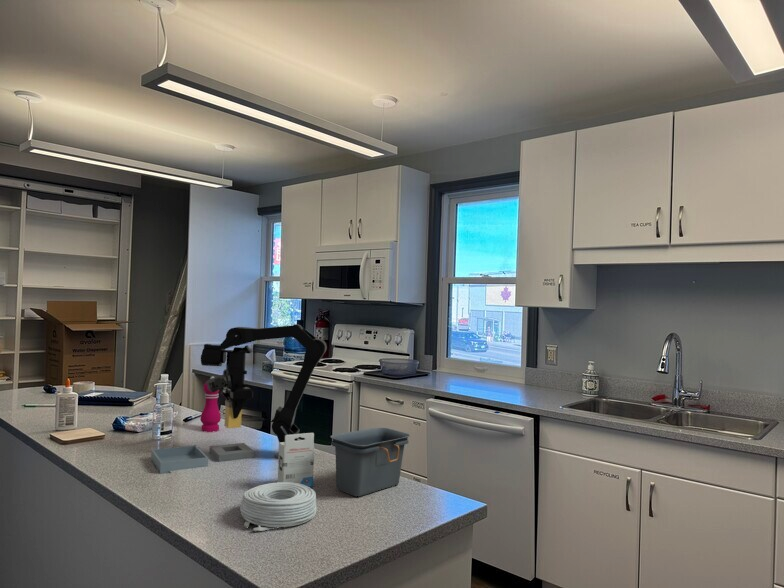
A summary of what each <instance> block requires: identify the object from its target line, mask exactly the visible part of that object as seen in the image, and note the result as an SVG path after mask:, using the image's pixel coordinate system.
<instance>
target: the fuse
mask: <svg viewBox="0 0 784 588" xmlns="http://www.w3.org/2000/svg"><path fill="white" fill-rule="evenodd" d="M224 403H225V404H224V407H225V408H224V409H225V410H224V412H225V413H224V427H225V428H226V429H235V428H236V429H237V428H241V427H242V415H243V414H242V413H243V409H242V410H241V412H240V414H239V415H238V417H237V418H233V410H232V401H231V400H226V399H225V401H224Z"/></svg>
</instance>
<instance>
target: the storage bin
mask: <svg viewBox="0 0 784 588" xmlns="http://www.w3.org/2000/svg"><path fill="white" fill-rule="evenodd" d="M329 437H330V438H331V439H332V441H331V443H330V445H331V446H332V447H334V449H335V450H334V451H335V475H336V476H335V484H336V485H335V486H336V487H335V488H336V489H337V490H338V491H341V492H343V493H346V494H348V495H352V496H354V497H357V496H358V497H362V496H366V495H368V494H371V493H374V492H378V490H379V491H382V490H386V489H389V488H392V487H391V486H393V487H396V486H398V485H399V483H400V476H401V471H402V470H401V469H402V465H403V457H404V450H405V445H407V444H409V439H408V438H409V437H411V434H409V433H407V432H404V431H399V430H395V429H392V428H388V427H373V428H367V429H362V430H360V429H359V430H354V431H348V432H347V431H346V432H342V433H336V434H332V435H330V436H329ZM395 485H396V486H395ZM388 487H389V488H388ZM385 488H386V489H385ZM381 489H382V490H381Z"/></svg>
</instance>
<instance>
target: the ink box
mask: <svg viewBox="0 0 784 588" xmlns="http://www.w3.org/2000/svg"><path fill="white" fill-rule="evenodd" d="M295 438H297V439H298V441H295V440H294V439H295ZM299 438H301V440H299ZM314 443H315V433H314V432H306V433H305V432H303V433H299V434H291V435H285V442H279V441H278V455H279V459H278V463H277V464H278V466H277V483H278V482H292V483H299V484H303V485H305V486H308V487H310V488H313V487H314V485H313V484H314V462H315V461H314V460H315V444H314Z"/></svg>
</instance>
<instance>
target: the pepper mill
mask: <svg viewBox="0 0 784 588" xmlns="http://www.w3.org/2000/svg"><path fill="white" fill-rule="evenodd" d="M215 377H216V376H213V375H212V376H210V378H209V379H212V378H215ZM203 391H204V398H205V404H204V407H203V410H202V412H201V414H200V422H201V423H202V425H200V426H201V428H200V431H201V432H204V431H207V432H206V433H214V432H213V431H215V432H218V431H219V430H220V425H219V423H220V422H221V418H222V416H221V412H220V409H219V405H218V398H219V395H220V394H219V392H220V391H219V390H217V391H216V392H211V391H209V389H208V386H207V383H206V382H205V383H204V385H203ZM217 430H218V431H217Z"/></svg>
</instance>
